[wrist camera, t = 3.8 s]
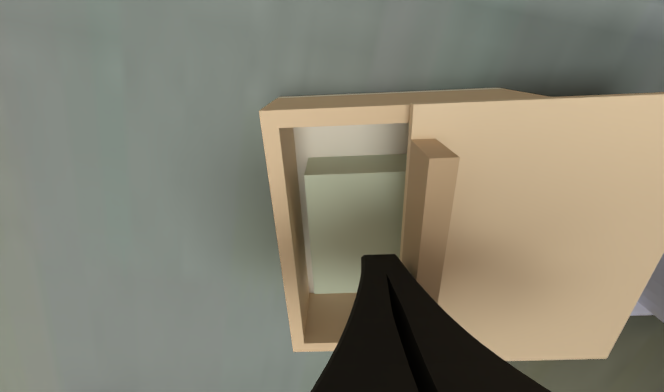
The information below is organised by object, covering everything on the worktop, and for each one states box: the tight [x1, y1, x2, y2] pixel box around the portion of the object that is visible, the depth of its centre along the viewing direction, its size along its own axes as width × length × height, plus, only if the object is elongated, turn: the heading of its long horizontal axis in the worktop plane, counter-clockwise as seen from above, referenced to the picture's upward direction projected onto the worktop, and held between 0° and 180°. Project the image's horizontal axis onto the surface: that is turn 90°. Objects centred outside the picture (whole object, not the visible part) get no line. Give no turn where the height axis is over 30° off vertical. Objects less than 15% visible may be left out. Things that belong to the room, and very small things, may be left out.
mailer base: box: [259, 88, 549, 352], centre depth 14 cm, size 10×12×4 cm
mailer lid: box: [400, 92, 664, 361], centre depth 11 cm, size 10×12×2 cm
